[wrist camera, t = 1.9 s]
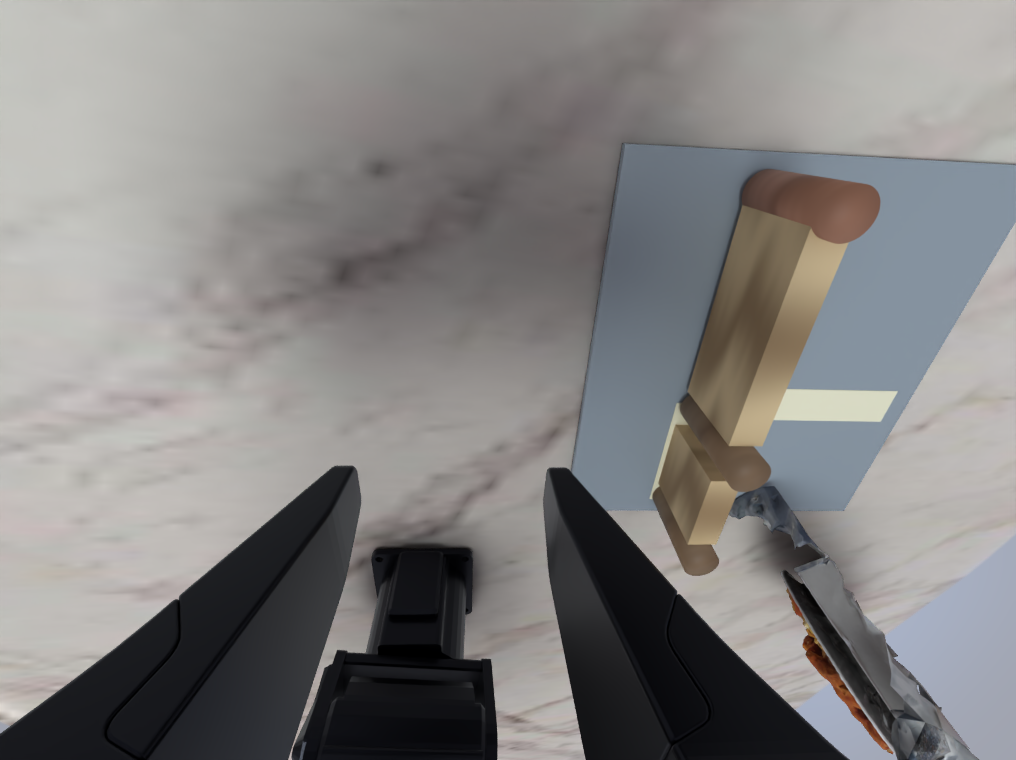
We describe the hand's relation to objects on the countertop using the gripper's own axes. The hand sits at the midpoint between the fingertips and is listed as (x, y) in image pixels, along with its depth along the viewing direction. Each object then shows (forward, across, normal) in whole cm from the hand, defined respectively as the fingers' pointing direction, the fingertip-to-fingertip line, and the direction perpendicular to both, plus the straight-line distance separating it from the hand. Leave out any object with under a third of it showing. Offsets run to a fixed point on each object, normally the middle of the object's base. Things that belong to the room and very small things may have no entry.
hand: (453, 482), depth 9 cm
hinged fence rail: (+12, -12, +1) cm, 17 cm away
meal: (+13, -22, +18) cm, 31 cm away
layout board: (+13, -15, +4) cm, 20 cm away
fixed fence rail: (+13, -12, +10) cm, 20 cm away
